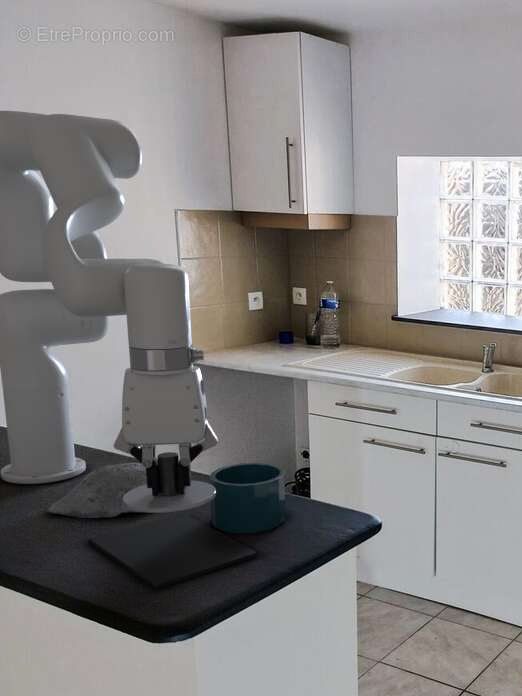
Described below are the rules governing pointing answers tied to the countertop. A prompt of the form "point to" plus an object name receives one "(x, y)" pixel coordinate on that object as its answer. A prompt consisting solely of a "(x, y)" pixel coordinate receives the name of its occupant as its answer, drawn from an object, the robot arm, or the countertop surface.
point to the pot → (248, 497)
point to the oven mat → (172, 550)
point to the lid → (168, 491)
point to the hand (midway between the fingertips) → (170, 490)
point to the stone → (102, 492)
